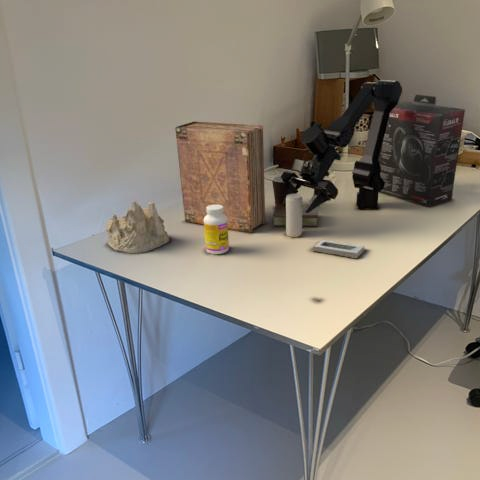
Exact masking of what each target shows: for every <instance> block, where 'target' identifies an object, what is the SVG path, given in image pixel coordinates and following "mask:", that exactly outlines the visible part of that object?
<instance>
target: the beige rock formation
mask: <svg viewBox="0 0 480 480" xmlns="http://www.w3.org/2000/svg"><path fill="white" fill-rule="evenodd" d="M164 222H165V220H164V219H163V218H162V217H161V216H160V215H159V214H158V210H157V207H156V204H155V201H154V202H153V201H149V202H148V204H147V207H142V205H140V204H139V203H137V200H134V199H133V200H131V205H130V209H128V210H127V211H126V213H125V215H124V216H122V217H121V216H120V217H117V214H113V213H112V215H111V217H110V218H109V220H108V222H107V224H106V226H105V229H104V230H105V231H106V232H107V236H108V238H109V239H108V241H107V243H108V244H107V245H108V246H109V247H110V248H112V249H113V250H115V251H116V252H117V251H119V252H123V253H129V254H130V253H131V254H141V253H144V252H145V253H146V252H147V253H148V252H150V251H152V250H155V249H157V248H159V247H162V246H164V245H166V244H167V243H169V242H170V236H169V234H168V231H166V228H165V225H164Z"/></svg>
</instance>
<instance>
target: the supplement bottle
mask: <svg viewBox="0 0 480 480" xmlns="http://www.w3.org/2000/svg"><path fill="white" fill-rule="evenodd" d="M206 212H207V215H206V216H205V217H204V225H203V228H204V229H203V230H204V231H203V232H204V244H205V251H206V253H208V254H212V255H222V254H226V253H227V252H228V251H229V249H230V245H229V243H230V241H229V229H228V221H227V217H226V215H224V214H223V206H222V205H217V204H215V205H209V206H207V207H206Z"/></svg>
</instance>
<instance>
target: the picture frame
mask: <svg viewBox="0 0 480 480" xmlns="http://www.w3.org/2000/svg"><path fill="white" fill-rule="evenodd" d="M311 251H313V252H318V253H324V254H328V255H337V256H341V257H347V258H352V259H357V258H358V257H360V256H361V255H362V254H364V252H365V251H366V249H365V246H364V245H359V244H353V243H346V242H340V241H333V240H327V239H321V240H320V241H318V242H317V243H316V244H315V245H313V248H312V249H311ZM315 301H320V298H315Z"/></svg>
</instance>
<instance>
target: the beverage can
mask: <svg viewBox="0 0 480 480" xmlns="http://www.w3.org/2000/svg"><path fill="white" fill-rule="evenodd" d="M302 204H303V195H302V194H301V193H297V194H288V195H287V196H286V227H285V234H286V236H287V237H290V238H298V237H300V236H302V235H303V227H302Z"/></svg>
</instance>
